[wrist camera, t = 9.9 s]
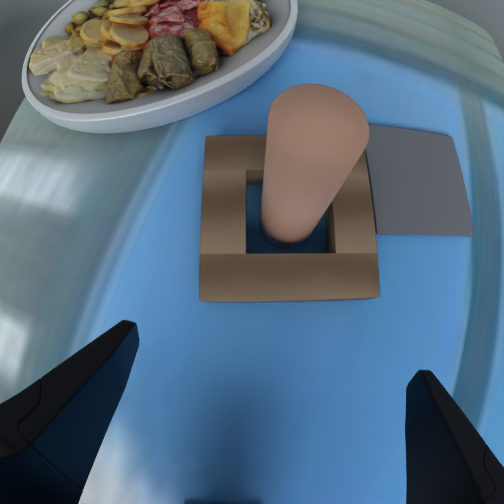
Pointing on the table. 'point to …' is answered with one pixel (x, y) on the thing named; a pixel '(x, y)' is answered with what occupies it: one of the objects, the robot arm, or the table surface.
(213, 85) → the bowl
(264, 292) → the socket block
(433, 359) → the table surface
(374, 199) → the mat
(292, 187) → the dowel
